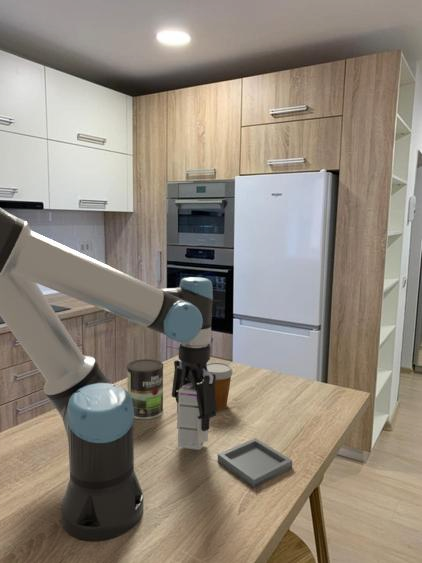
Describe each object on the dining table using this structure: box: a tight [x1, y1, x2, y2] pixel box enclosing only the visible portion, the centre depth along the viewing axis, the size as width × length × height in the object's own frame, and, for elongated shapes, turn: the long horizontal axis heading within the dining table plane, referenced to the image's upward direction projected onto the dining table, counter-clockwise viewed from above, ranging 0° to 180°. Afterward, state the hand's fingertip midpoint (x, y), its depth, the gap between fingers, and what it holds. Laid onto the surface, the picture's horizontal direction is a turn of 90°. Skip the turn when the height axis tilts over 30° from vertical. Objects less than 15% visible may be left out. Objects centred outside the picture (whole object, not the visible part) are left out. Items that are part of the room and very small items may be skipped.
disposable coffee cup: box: [206, 362, 234, 411], centre depth 125 cm, size 10×10×12 cm
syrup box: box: [177, 382, 205, 451], centre depth 101 cm, size 6×6×14 cm
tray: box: [217, 437, 293, 489], centre depth 96 cm, size 12×12×2 cm
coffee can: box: [126, 358, 164, 421], centre depth 120 cm, size 10×10×14 cm
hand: (192, 434), depth 102 cm, fingers closed on syrup box, 8 cm apart
